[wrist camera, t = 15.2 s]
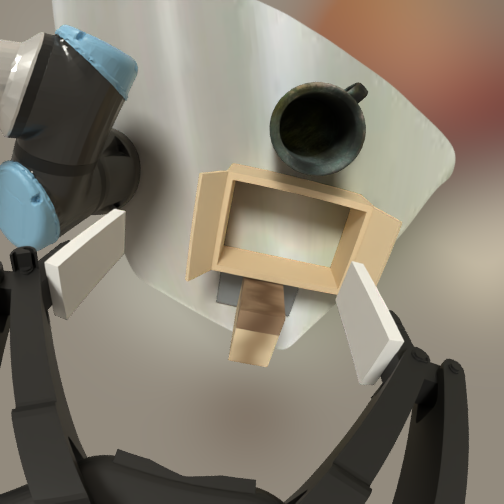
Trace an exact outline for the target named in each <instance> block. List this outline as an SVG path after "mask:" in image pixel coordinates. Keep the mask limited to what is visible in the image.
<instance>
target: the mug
mask: <svg viewBox="0 0 504 504" xmlns="http://www.w3.org/2000/svg"><path fill="white" fill-rule="evenodd" d="M367 94H368V91H367V89H366V88H365V87H364V86H363V85H362V84H361V83H355V84H353V85H351V86H349V87H348V88H346V89H344V90H343V89H341V88H339V87H337V86H335V85H332V84H329V83H323V82H312V83H306V84H303V85H299V86H297V87H295V88H293V89H291V90H290V91H289V92H287V93H286V94H285V95H284V96H283V97H282V98H281V99H280V100H279V102H278V103H277V105H276V106H275V108H274V111H273V113H272V116H271V120H270V137H271V142H272V144H273V147H274V149H275V151H276V153H277V154H278V156H279V157H280V158H281V160H282V161H283V162H284V163H286V164H287V165H288V166H289V167H291V168H292V169H294V170H296V171H298V172H300V173H303V174H307V175H312V176H324V175H330V174H333V173H336V172H338V171H340V170H342V169H344V168H345V167H347V166H348V165H349V164H350V163H351V162H352V161H353V160H354V159H355V158H356V157H357V155H358V154H359V152H360V150H361V149H362V146H363V143H364V140H365V134H366V125H365V119H364V116H363V113H362V110H361V108H360V106H359V105H358V103H359V102H360V101H362V100H363V99H364V98H365V97H366V96H367Z"/></svg>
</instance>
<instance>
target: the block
mask: <svg viewBox="0 0 504 504" xmlns="http://www.w3.org/2000/svg"><path fill="white" fill-rule="evenodd" d="M284 321H285V304H284V290H283V284H279V283H274V282H269V281H264V280H259V279H254V278H249V277H243V281H242V286H241V290H240V295H239V299H238V303H237V309H236V315H235V321H234V327H233V334H232V340H231V346H230V353H229V359H228V360H230V361H235V362H241V363H246V364H252V365H258V366H264V367H267V366H268V364H269V361H270V358H271V356H272V353H273V350H274V348H275V345H276V343H277V340H278V337H279V335H280V332H281V329H282V327H283V324H284Z"/></svg>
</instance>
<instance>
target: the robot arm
mask: <svg viewBox="0 0 504 504" xmlns="http://www.w3.org/2000/svg"><path fill="white" fill-rule="evenodd" d="M137 73H138V66H137V63H136V61H135V60H134V59H133V58H132V57H130V56H129V55H127V54H126V53H124V52H122V51H121V50H119V49H117V48H115V47H114V46H112V45H110V44H108V43H106V42H104V41H102V40H100V39H98V38H96V37H94V36H92V35H90V34H87V33H85V32H83V31H80V30H79V29H77V28H74V27H72V26H69V25H62V26H61V27H60V28H59V29H57V30H56V32H55V35H50V34H46V33H42V32H40V33H39V34H37V35H35V36H34V37H32V38H30V39H29V40H27V41H24V42H21V43H20V42H14V41H8V40H1V39H0V130H1V132H2V134H3V136H4V137H8V138H16V142H15V146H14V150H13V154H12V158H11V160H10V161H9V160H8V161H5V162H3V163H2V164H1V165H0V229H1V231H2V232H3V234H4V235H5V236H6V238H7V239H8V240H9V241H10V242H11V243H13V244H14V245H15V246H16V247H18V248H16V249H14V250H13V251H12V252H11V254H10V259H11V264H12V269H13V271H4V270H3V265H2V263H1V262H0V366H1V362H2V357H3V353H4V349H5V344H6V340H7V337H8V333H9V329H10V346H11V347H10V348H11V367H12V379H13V387H14V395H15V402H16V408H15V409H12V413H11V414H12V422H13V428H14V433H15V438H16V442H17V447H18V451H19V455H20V459H21V463H22V467H23V470H24V474H25V477H26V480H27V483H28V484H26V485H24V486H21V487H19V488H16V489H14V490H11V491H9V492H6V493H3V494H0V504H365V502H366V501H367V499H368V498H369V496H370V494H371V492H372V489H371V488H370V485H371V483H372V481H373V480H374V478H375V477H376V475H377V473H378V472H379V470H380V468H381V467H382V465H383V463H384V461H385V460H386V458H387V456H388V455H389V453H390V451H391V449H392V448H393V446H394V444H395V442H396V440H397V438H398V436H399V434H400V432H401V430H402V428H403V426H404V424H405V422H406V420H407V418H408V416H409V414H410V412H411V409H412V415H411V422H410V428H409V434H408V440H407V445H406V450H405V455H404V460H403V464H402V469H401V473H400V477H399V481H398V485H397V489H396V492H395V496H394V499H393V503H392V504H465V496H466V487H467V474H468V453H469V431H468V430H469V427H468V405H467V393H466V382H465V374H464V370H463V368H462V367H461V365H460V364H459V363H458V362H456V361H454V360H452V359H446V360H445V361H444V362H443V363H442V364H441V366H439V365H437V364H434V363H431V362H430V359H429V356H428V355H427V354H426V352H424V351H423V350H422V349H420V348H418V347H414V346H413V344H412V343H411V340H410V338H409V336H408V334H407V332H406V331H405V328H404V327H403V325H402V323H401V321H400V319H399V317H398V316H397V315H396V314H395V313H394V312H393V311H391V310H388V308H387V306H386V304H385V302H384V301H383V299H382V297H381V295H380V293H379V291H378V289H377V288H376V286H375V284H374V282H373V280H372V279H371V277H370V275H369V273H368V271H367V270H366V268H365V266H364V264H362V263H358V262H354V261H351V264H350V266H349V269H348V271H347V274H346V276H345V278H344V281H343V283H342V285H341V288H340V290H339V293H338V295H337V297H336V299H335V301H336V304H337V307H338V310H339V314H340V317H341V320H342V323H343V326H344V330H345V334H346V337H347V340H348V344H349V347H350V351H351V354H352V358H353V362H354V365H355V369H356V372H357V376H358V380H359V384H363V385H374V384H375V383H376V382H377V380H378V379H379V378H380V376H381V379H382V382H383V383H382V384H381V386H380V387H379V388H378V390H377V391H376V392H375V393H374V395H373V396H372V397H371V398H372V399H371V401H370V402H369V403H368V405H367V406H366V408H365V409H364V411H363V412H362V414H361V415H360V416H359V418H358V419H357V421H356V422H355V423H354V425H353V426H352V427H351V429H350V430H349V431H348V433H347V434H346V435H345V437H344V438H343V439H342V440H341V442H340V443H339V444H338V445H337V447H336V448H335V449H334V450H333V452H332V453H331V454H330V455H329V456H328V457H327V459H326V460H325V461H324V462H323V463H322V464H321V466H320V467H319V468H318V469H317V470H316V471H315V472H314V473H313V475H312V476H311V477H310V478H309V479H308V480H307V481H306V482H305V483H304V484H303V485H302V486H301V487H300V488H299V490H297V491H296V492H295V493H294V494H293V495H292V496H291V497H289V498H288V499H287V500H286V501H285V502H282V501H281V500H280V499H278V498H277V497H276V496H274V495H272V494H271V493H269V492H267V491H265V490H262V489H260V488H256V480H251V479H243V478H235V477H228V476H195V477H186V476H182V475H179V474H177V473H175V472H173V471H171V470H169V469H167V468H165V467H163V466H161V465H159V464H157V463H155V462H154V461H152V460H150V459H147V458H143V457H140V456H137V455H134V454H131V453H128V452H125V451H122V450H119V449H117V452H116V455H115V456H113V455H99V456H92V457H88V458H87V456H86V454H85V452H84V450H83V448H82V445H81V443H80V441H79V438H78V436H77V433H76V430H75V427H74V424H73V421H72V418H71V415H70V411H69V408H68V405H67V401H66V398H65V395H64V391H63V386H62V382H61V378H60V374H59V370H58V365H57V361H56V356H55V350H54V346H53V339H52V333H51V326H50V319H49V314H48V309H49V308H50V307H51V306H53V311H54V315H55V316H58V317H60V318H63V319H66V320H68V319H69V317H70V316H71V315H72V314H73V312H74V311H75V310H76V309H77V308H78V306H79V305H80V304H81V303H82V301H83V300H84V299H85V298H86V297H87V295H88V294H89V293H90V292H91V291H92V290H93V288H94V287H95V286H96V285H97V284H98V283H99V281H100V280H101V279H102V278H103V277H104V276H105V275H106V273H107V272H108V271H109V270H110V269H111V268H112V266H114V265H115V263H116V262H117V261H118V260H119V259H120V258H121V257H122V256H123V255H124V249H125V217H126V211H123V210H118V209H119V208H121V207H122V206H124V205H125V204H126V203H127V202H128V201H129V200H130V199H131V198H132V196H133V195H134V193H135V191H136V189H137V187H138V183H139V179H140V162H139V158H138V154H137V152H136V149H135V147H134V145H133V144H132V142H131V141H130V140H129V139H128V138H127V137H126V136H125V135H124V134H123V133H121V132H120V131H118V130H116V129H113V128H112V127H113V125H114V123H115V120H116V118H117V116H118V114H119V112H120V110H121V108H122V106H123V104H124V102H125V101H127V99H128V93H129V91H130V88H131V86H132V84H133V82H134V80H135V78H136V76H137ZM101 214H106V215H105V216H104V217H102V218H101V219H99V220H98V221H97V222H95V223H94V224H93V225H91V226H90V227H88V228H87V229H86V230H84V231H83V232H82V233H80V234H79V235H78V236H77V237H75V238H74V239H73V240H71V241H70V240H68V241H65V242H63V243H60V244H59V245H58V246H57V247H55V248H54V249H53V250H51V251H50V252H49V253H48V254H47V255H45V256H44V257H43V258H41V259H40V260H39V261H38V259H37V251H39V250H41V249H43V248H45V247H46V246H48V245H50V244H53V243H55V242H56V241H57V240H58V238H59V237H61V236H62V235H63V234H65V233H66V232H67V231H69V230H70V229H72V228H73V227H74V226H76V225H77V224H79V223H80V222H81V221H83V220H84V219H86V218H87V217H89V216H90V215H101Z"/></svg>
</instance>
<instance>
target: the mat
mask: <svg viewBox="0 0 504 504" xmlns="http://www.w3.org/2000/svg"><path fill="white" fill-rule="evenodd" d="M243 277H244V276H239V275H234V274H230V273H225V272H221V277H220V283H219V289H218V294H217V300H216V302H219V303H224V304H229V305H233V306H237V303H238V299H239V295H240V290H241V286H242V281H243ZM298 288H299V287H294V286H289V285H284V284H283V290H284V304H285V315H286V316H289V314H290V311H291V308H292V306H293V303H294V300H295V297H296V294H297V291H298Z"/></svg>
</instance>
